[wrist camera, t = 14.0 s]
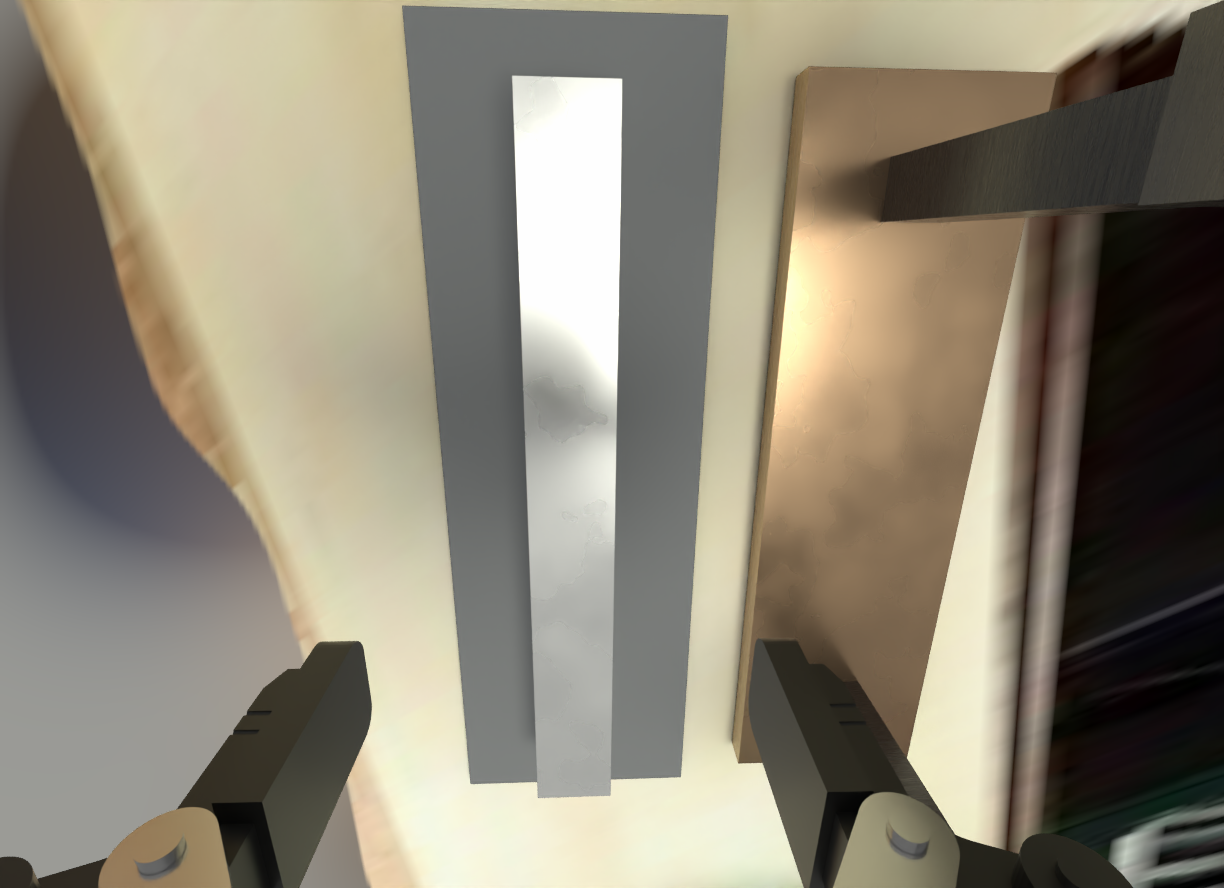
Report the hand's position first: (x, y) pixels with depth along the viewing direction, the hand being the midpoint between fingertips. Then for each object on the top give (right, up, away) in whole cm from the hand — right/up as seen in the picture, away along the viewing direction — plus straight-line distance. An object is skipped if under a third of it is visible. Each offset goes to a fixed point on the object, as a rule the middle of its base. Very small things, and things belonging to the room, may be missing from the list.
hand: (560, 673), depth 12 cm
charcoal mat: (-1, +4, +12) cm, 12 cm away
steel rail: (-1, +3, +11) cm, 12 cm away
